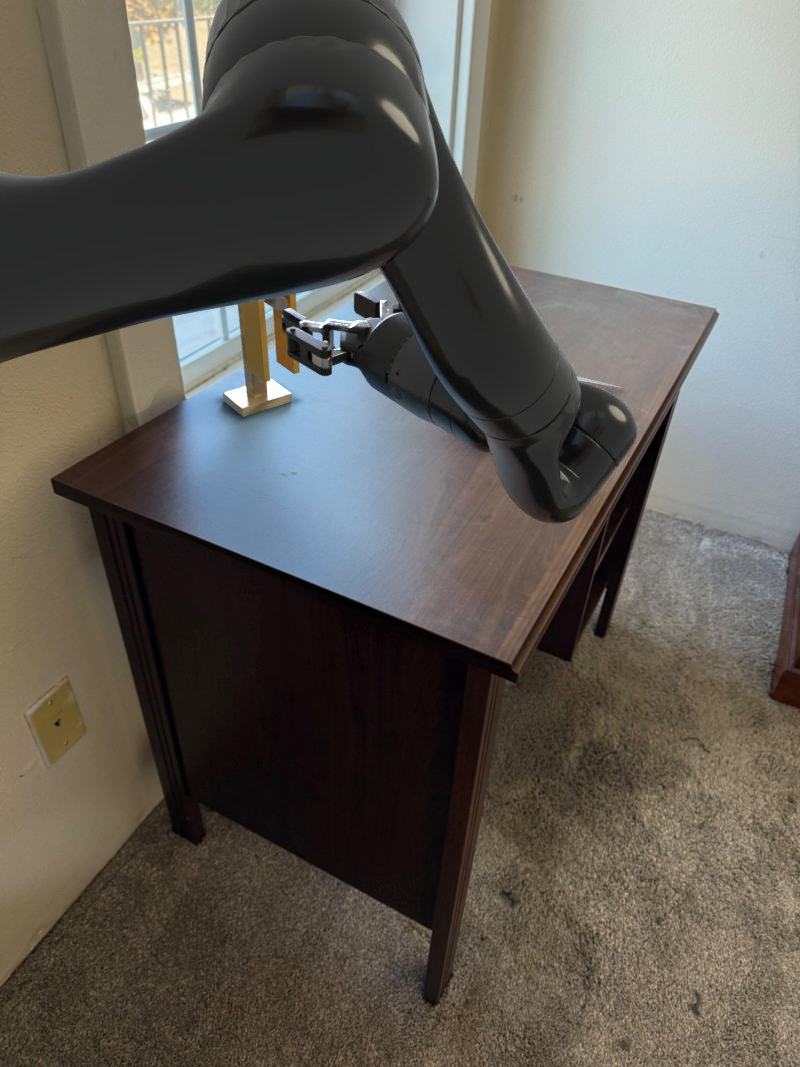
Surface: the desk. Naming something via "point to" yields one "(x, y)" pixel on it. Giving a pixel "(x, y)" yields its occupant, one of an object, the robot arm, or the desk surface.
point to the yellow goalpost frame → (265, 339)
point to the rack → (257, 379)
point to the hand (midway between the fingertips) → (321, 309)
